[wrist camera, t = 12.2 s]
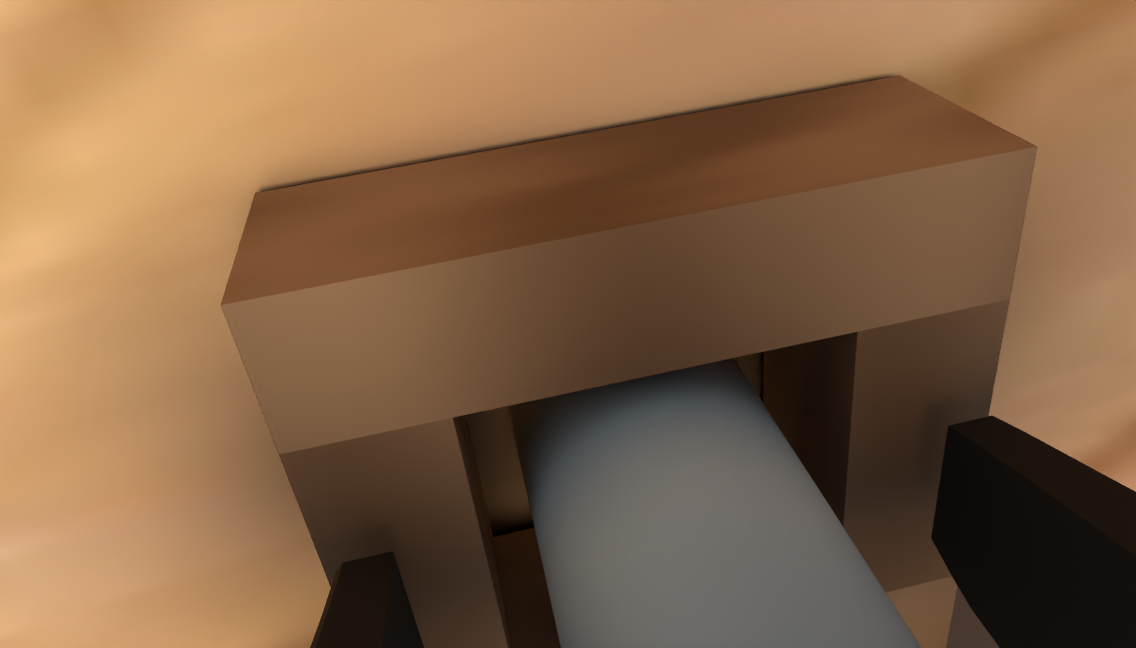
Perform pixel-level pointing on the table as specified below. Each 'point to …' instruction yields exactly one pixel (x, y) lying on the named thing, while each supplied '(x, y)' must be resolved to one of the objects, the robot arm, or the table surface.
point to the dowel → (689, 522)
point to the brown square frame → (635, 322)
